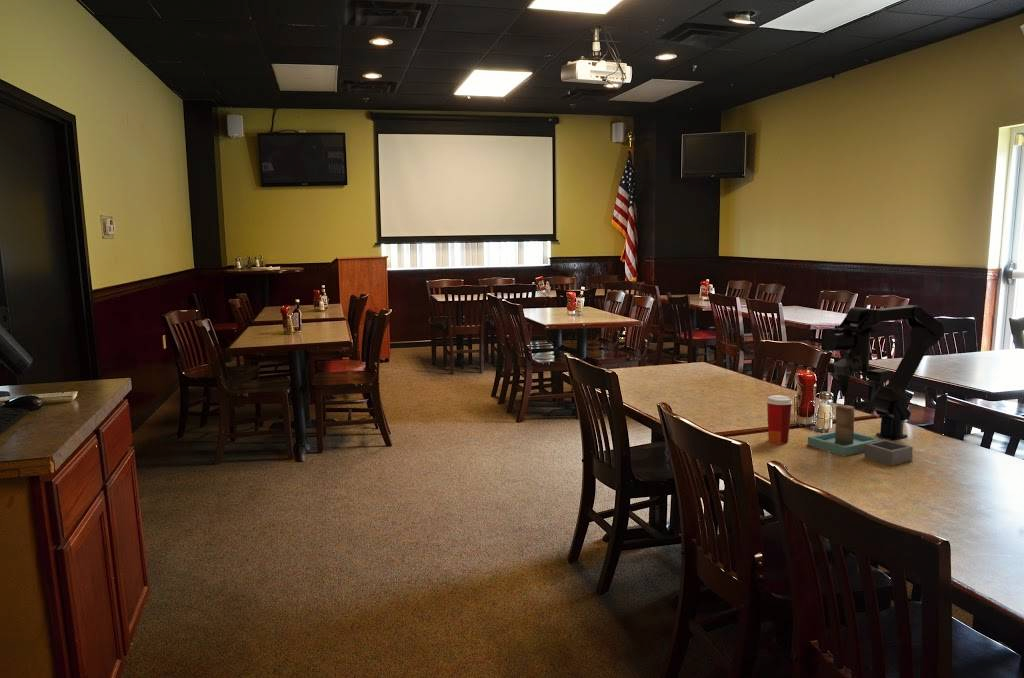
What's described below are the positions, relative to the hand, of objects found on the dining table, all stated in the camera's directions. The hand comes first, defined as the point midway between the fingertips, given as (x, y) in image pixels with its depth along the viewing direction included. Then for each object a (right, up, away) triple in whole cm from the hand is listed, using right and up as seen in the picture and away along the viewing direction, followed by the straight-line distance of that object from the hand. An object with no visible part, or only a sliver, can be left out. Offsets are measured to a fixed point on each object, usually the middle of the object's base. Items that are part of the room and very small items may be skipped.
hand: (856, 399), depth 220 cm
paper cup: (-23, -14, +3) cm, 27 cm away
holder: (+1, -16, -17) cm, 23 cm away
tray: (-6, -14, -4) cm, 15 cm away
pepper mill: (-6, -13, -4) cm, 15 cm away
